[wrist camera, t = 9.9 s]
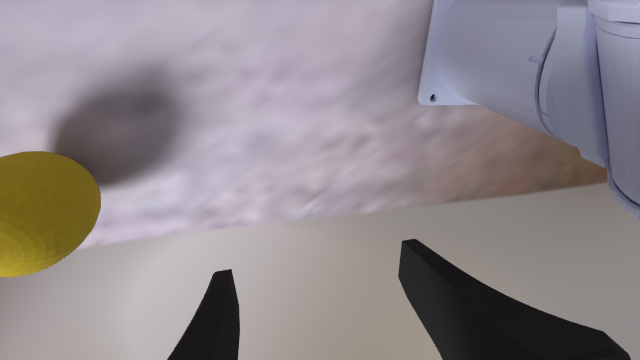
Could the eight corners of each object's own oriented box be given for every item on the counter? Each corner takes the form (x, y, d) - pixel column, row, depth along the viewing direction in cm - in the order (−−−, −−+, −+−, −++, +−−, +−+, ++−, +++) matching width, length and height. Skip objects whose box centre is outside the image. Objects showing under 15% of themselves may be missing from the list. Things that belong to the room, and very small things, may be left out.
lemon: (28, 113, 18) (-109, 181, 11) (133, 157, 20) (73, 236, 13) (3, 191, 20) (-128, 292, 13) (103, 223, 22) (36, 324, 15)
